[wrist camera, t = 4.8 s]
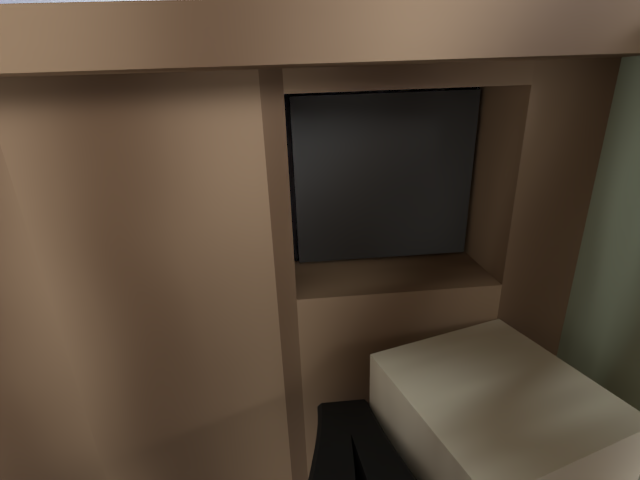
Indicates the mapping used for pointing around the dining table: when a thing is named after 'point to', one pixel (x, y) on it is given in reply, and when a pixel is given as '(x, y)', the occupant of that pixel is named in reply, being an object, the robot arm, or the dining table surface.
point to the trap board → (297, 214)
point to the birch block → (499, 411)
